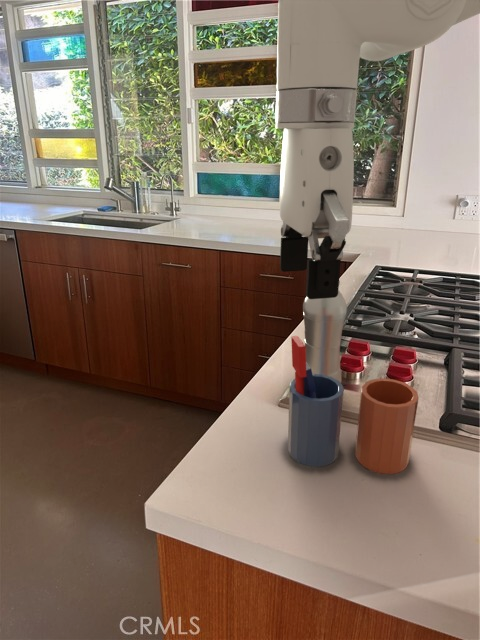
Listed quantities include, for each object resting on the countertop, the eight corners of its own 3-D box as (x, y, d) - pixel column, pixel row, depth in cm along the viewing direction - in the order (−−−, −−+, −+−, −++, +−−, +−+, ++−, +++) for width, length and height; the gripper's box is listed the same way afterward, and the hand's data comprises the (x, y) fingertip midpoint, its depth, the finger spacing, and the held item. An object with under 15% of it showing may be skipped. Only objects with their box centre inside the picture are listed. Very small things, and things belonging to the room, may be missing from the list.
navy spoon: (323, 441, 61) (305, 359, 56) (330, 452, 59) (312, 368, 54) (317, 443, 61) (298, 361, 56) (323, 455, 59) (304, 371, 53)
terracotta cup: (391, 441, 62) (400, 376, 58) (417, 473, 56) (429, 403, 52) (346, 447, 61) (352, 381, 57) (368, 481, 55) (376, 410, 51)
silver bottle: (320, 378, 78) (326, 262, 70) (349, 395, 73) (360, 273, 65) (290, 389, 75) (293, 269, 67) (318, 408, 69) (325, 281, 62)
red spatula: (301, 443, 61) (298, 335, 55) (309, 458, 58) (306, 345, 52) (294, 444, 61) (290, 336, 55) (301, 459, 58) (298, 347, 52)
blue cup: (327, 435, 63) (331, 371, 60) (345, 466, 58) (351, 397, 54) (282, 441, 62) (283, 376, 58) (296, 473, 56) (299, 403, 53)
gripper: (395, 109, 37) (373, 308, 44) (321, 115, 53) (312, 260, 59) (306, 109, 36) (297, 313, 42) (257, 115, 52) (255, 264, 58)
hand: (306, 282), depth 51 cm, fingers open, 9 cm apart
